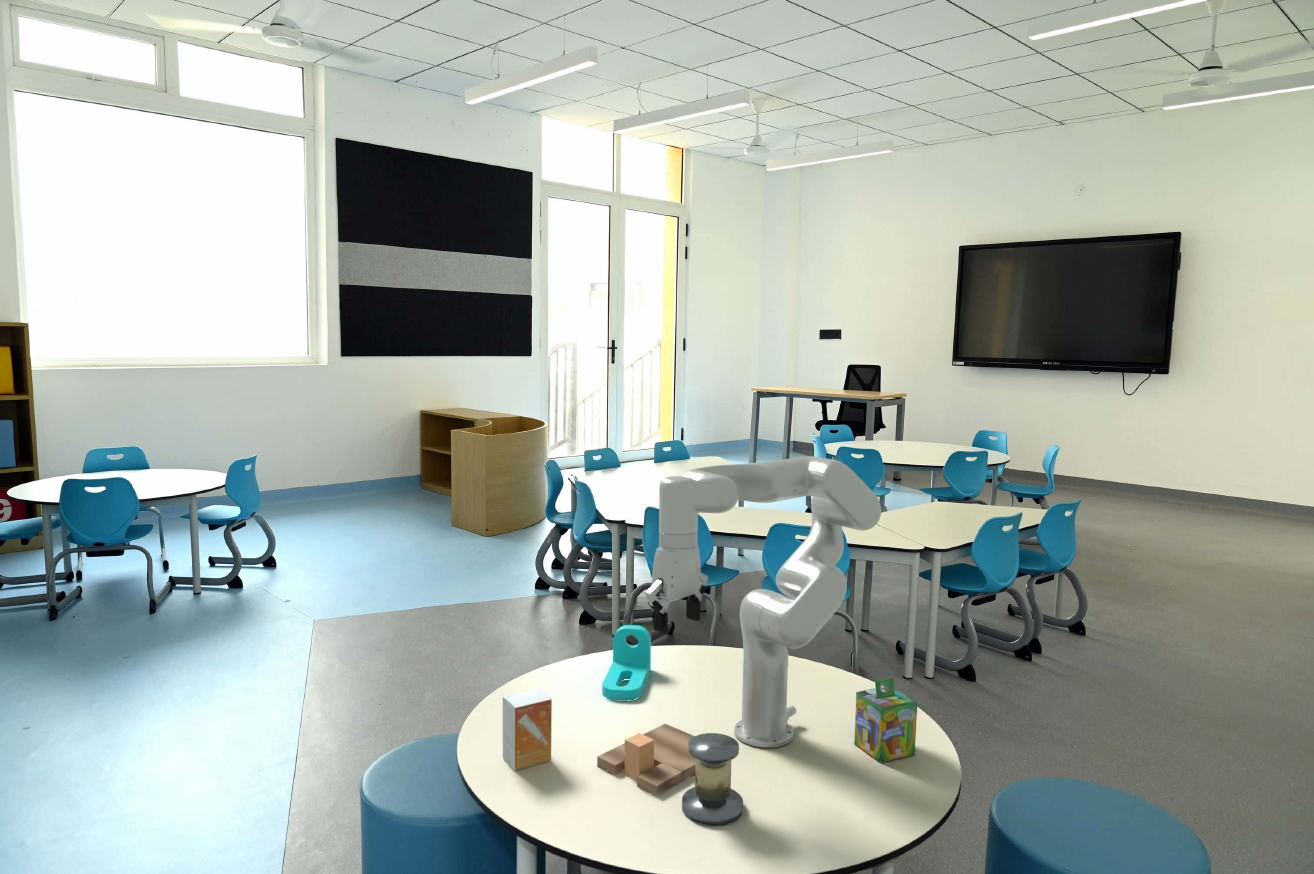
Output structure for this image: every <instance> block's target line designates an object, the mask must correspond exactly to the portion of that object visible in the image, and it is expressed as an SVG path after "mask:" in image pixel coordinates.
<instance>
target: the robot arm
mask: <svg viewBox="0 0 1314 874" xmlns="http://www.w3.org/2000/svg"><path fill="white" fill-rule="evenodd" d="M658 489H659V492H658V493H659V494H658V495H659V497H658V498H659V499H658V500H659V501H658V502H659V504H658V507H659V508H658V547H657V548H656V550H655V553H654V559H653V563H652V564H653V566H652V574H651V575H652V576H651V586H650V587H649V588H648V590H646V592H645V593H644V597H645V598H646V600H647V604H648V606H649V607H650V609H651V611H652V612H653V630H654V631H655V632H660V633H662V634H666V633H668V631H669V613H668V612H667V609H668V608H669V605H670V604H671V602H675V601H678V600H681V599H685V598H686V605H685V607H686V609H685V611H686V612H685V616H686V617H685V618H687V619H689V620H692V621H695V622H700V621H701V601H702V600H703V597H704V595H703V594H704V593H705V591H706V585H707V583H708V580H709V576H708V575H707V574H704V573H703V572H701V571H702V570H701V557H700V549H699V545H698V537H699V536H698V535H699V534H698V532H699V531H698V529H699V526H698V525H699V524H698V523H699V521H698V519H699V514H722V513H727V512H728V511H731V510H732V509H733V508H734V507H735V506H736V505H737V504H738V501H742V502H749V503H750V502H751V503H760V504H761V503H762V504H763V503H765V504H767V503H770V504H771V503H776V502H780V501H781V502H782V501H787V500H791V499H797V498H798V499H799V498H803V497H812V499H811V507H810V508H811V527H810V530H809V534H808V535H807V537H806V538H805V539H804V541H803V542H802V543H801V544H800V545H799V546H798V547H797V548H796V549H795V550H794V552H793V553H792V554H791V555H790V556H789V558H787V560H786V561H785V562H784V563H783V564H782V565H781V567H780V568H779V569H778V572H777V573H776V575H775V584H776V586H777V589H778V590H779V591H780V592H781V593H782V594H781V593H779V592H776V591H773V590H770V589H765V588H757V589H754V590H751V591H750V592H748V593H747V594H746V595H745V596H744V597H743V599H742V600H741V603H740V607H739V622H740V628H741V634H742V644H743V645H742V646H743V647H742V648H743V656H742V657H743V662H742V694H741V696H742V697H741V698H742V700H741V702H742V704H741V719H740V720H739V721H738V722H736V723H735V725H734V727H733V728H734V730H733V731H734V732H733V733H734V735H735V737H736V738H737V739H738V740H739V741H741V742H742V743H744V744H747V745H749V746H753V747H757V748H763V749H764V748H765V749H766V748H770V749H773V748H777V747H778V748H779V747H783V746H786V745H787V744H790V742H791V741H793V739H794V730H793V729H794V728H792V726H791V725H789V724H788V721H789V719H790V718H791V717H793V716H795V715H796V714H797V708H796V707H795V706H794V705H790V706H788V680H789V679H788V675H789V673H788V672H789V651H788V649H794V650H795V649H800V648H803V647H805V646H806V645H808V644H809V643H810V642H811V641H812V640H813V639H814V638H815V636H816V635H817V634H818V633H820V631H821V630H822V628H823V627H824V626H825V625H826V624H827V622H828V621H829V620H830V619H831V618H832V617H833V616H834V614H835V613H836V612H837V611H838V609H839V608H840V607H841V605H842V604H843V602H844V599H845V597H846V593H847V589H848V588H847V587H848V584H847V583H848V582H847V577H846V575H845V574H844V572H843V571H842V570H841V569H840V568H839V567H837V566H836V565H837V564H838V563H839V561H840V559H841V558H842V556H843V555H844V554H843V553H844V549H845V548H844V546H845V543H844V534H843V533H844V532H843V527H845V528H849V529H852V530H856V531H868V530H871V529H872V528H874V527H875V526H877V524H878V523H879V521H880V519H881V517H882V516H881V515H882V506H881V502H880V499H879V498H878V496H877V495H876V494H875V493H874V491H873V490H872V489H871V487H869V486H868V485H867V484H866V483H865V482H864V481H863V479H861V478H860V477H859V475H857V474H856V473H855V472H854V470H852V468H850V467H849V466H848V465H846V464H845V463H844V462H842V461H840V460H837V459H832V458H831V459H830V458H826V457H820V456H819V457H818V456H811V455H810V456H808V455H806V456H804V455H803V456H797V457H792V458H791V457H790V458H784V459H777V460H772V461H764V462H762V461H761V462H747V463H734V464H719V465H718V464H717V465H711V466H703V467H698V468H692V469H690V470H687V471H685V472H684V473H683V474H682V475H675V476H673V475H671V476H666V477H664V478H662V479H661V481H660V482H659V488H658ZM687 597H688V598H687ZM662 601H663V602H662ZM661 602H662V604H661Z"/></svg>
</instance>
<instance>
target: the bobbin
mask: <svg viewBox="0 0 1314 874" xmlns="http://www.w3.org/2000/svg"><path fill="white" fill-rule="evenodd" d="M693 736H694V737H693V738H691V739H690V741H689V748H688V749H689V753H690V754H691V755H692V756H693V757H695V758H696V764H695V777H694V780H695V781H694V786H693V787H690V789H689V788H688V790H686V791H685V792H684V793H683V795H682V799H681V810H682V812H683V814H684V816H685V817H686V818H687V819H689V820H691V821H692V822H694V823H696V824H699V825H703V826H709V827H710V826H711V827H721V826H727V825H731V824H733V823H735V822H737V821H739V819H741V818H742V815H743V813H744V799H743V797H742V795H741V794H740V793H739V792H738V791H736V790H735V789H733V788H732V760H734V759H736V758H737V757H738V756H739V754H740V744H739V742H738V741H737V740H736V739H735V738H733V737H731V736H730V735H727V734H724V733H723V734H722V733H717V732H706V733H700V734H697V735H693Z"/></svg>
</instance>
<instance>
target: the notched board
mask: <svg viewBox="0 0 1314 874" xmlns="http://www.w3.org/2000/svg"><path fill="white" fill-rule="evenodd" d="M642 734H643V735H645V736H647V737H649V738H651V739H653V740H654V768H652V769H650V770H648V771H646V772H644V773H643V774H641V775H639V776H637V783H636V787H637V788H640V789H641V790H644V791H646V792H647V793H650V794H651V795H654V796H655V797H658V796H659V794H660V795H661V794H663V793H665V792H667V791H669V790H670V789H672V788H673V786H674V787H676V786H677V785H679V784H680V782H681V783H682V782H684V781H686V780H688V779H689V778H691V777H692V776H694V774H695V764H696V758H695V757H693V756H692V755H691V754H690V753H689V749H688V748H689V741H690V739H691V738H693V737H694V736H695V735H693V734H691V733H688V732H685V731H684V730H681V729H679V728H676V727H674V726H672V725H669V724H667V723H663V724H661V725H660V726H658V727H655V728H653V729H651V730H649V731H647V732H645V733H642ZM596 758H597V759H596V760H597V761H596V762H597V763H596V765H597V767H598V766H599V767H598V768H600V767H602V768H603V769H602V768H601V769H602V770H604V769H605V770H604V771H606V770H608V771H609V772H608V771H607V772H608V773H610V772H611V774H612V775H614V776H616V775H618V774H620V773H622V772H624V771H625V742H624V743H622V744H620V745H618V746H616V747H613V748H611V749H610V750H608V751H606V752H603V753H601V754H600V755H597V757H596ZM623 770H624V771H623ZM666 790H667V791H666Z"/></svg>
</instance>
